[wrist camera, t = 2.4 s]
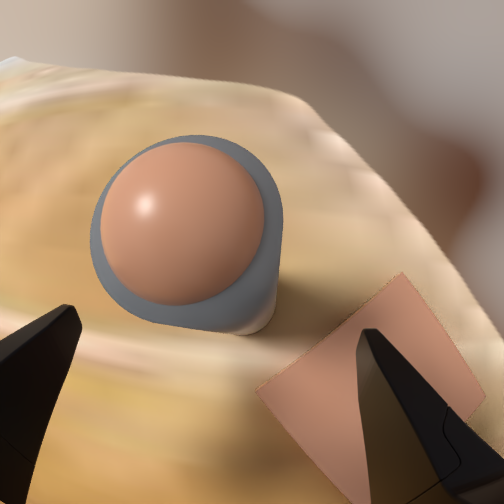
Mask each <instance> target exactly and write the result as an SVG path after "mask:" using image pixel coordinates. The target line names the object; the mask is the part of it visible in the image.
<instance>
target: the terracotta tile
mask: <svg viewBox="0 0 504 504" xmlns="http://www.w3.org/2000/svg"><path fill="white" fill-rule="evenodd" d="M364 328H377V329H378V330H379V331H380V332H381V333H382V334H383V335H384V336H385V337H386V338H387V339H388V340H389V341H390V342H391V343H392V344H393V345H394V347H395V348H396V349H397V350H398V351H399V352H400V353H401V354H402V355H403V356H404V357H405V358H406V359H407V360H408V361H409V362H410V363H411V365H412V366H413V367H414V368H415V369H416V370H417V371H418V372H419V373H420V374H421V375H422V376H423V377H424V378H425V380H426V381H427V382H428V383H429V384H430V385H431V386H432V387H433V388H434V389H435V390H436V391H437V393H438V394H439V395H440V396H441V397H442V398H443V399H444V400H445V401H446V402H447V404H448V406H450V407H451V408H452V409H453V410H454V411H455V412H456V413H457V415H458V416H459V417H460V418H461V419H462V420H463V421H464V422H465V421H466V420H467V419H468V418H469V416H470V415H471V414H472V413H473V412H474V411H475V410H476V408H477V407H478V406H479V405H480V404H481V402H482V401H483V400H484V399H485V397H486V396H485V394H484V392H483V390H482V389H481V387H480V385H479V383H478V382H477V380H476V378H475V377H474V375H473V373H472V372H471V370H470V369H469V367H468V365H467V364H466V362H465V361H464V359H463V357H462V356H461V354H460V353H459V351H458V350H457V348H456V346H455V345H454V343H453V342H452V340H451V339H450V337H449V336H448V334H447V333H446V331H445V330H444V329H443V327H442V326H441V324H440V323H439V321H438V320H437V318H436V317H435V316H434V314H433V313H432V311H431V310H430V308H429V307H428V306H427V304H426V303H425V302H424V300H423V299H422V297H421V296H420V295H419V293H418V292H417V291H416V289H415V288H414V287H413V285H412V284H411V283H410V281H409V280H408V279H407V277H406V276H405V275H404V274H403V272H401V273H400V274H398V275H396V276H395V277H394V278H393V279H392V280H391V281H390V282H389V283H388V284H387V285H385V286H384V287H383V288H382V289H381V290H380V291H379V292H378V293H377V294H376V295H374V296H373V297H372V298H371V299H370V300H369V301H368V302H367V303H365V304H364V305H363V306H362V307H361V308H360V309H359V310H357V311H356V312H355V313H354V314H353V315H352V316H350V317H349V318H348V319H347V320H346V321H344V322H343V323H342V324H341V325H340V326H338V327H337V328H336V329H335V330H334V331H332V332H331V333H330V334H329V335H327V336H326V337H325V338H324V339H322V340H321V341H320V342H319V343H317V344H316V345H315V346H314V347H312V348H311V349H310V350H308V351H307V352H306V353H304V354H303V355H302V356H301V357H299V358H298V359H297V360H295V361H294V362H293V363H291V364H290V365H289V366H287V367H286V368H284V369H283V370H282V371H280V372H279V373H278V374H276V375H275V376H273V377H272V378H271V379H269V380H268V381H266V382H265V383H264V384H262V385H261V386H259V387H258V388H256V390H255V392H256V394H257V395H258V396H259V397H260V399H261V400H262V401H263V402H264V404H265V405H266V406H267V407H268V409H269V410H270V411H271V412H272V414H273V415H274V416H275V417H276V419H277V420H278V421H279V422H280V423H281V425H282V426H283V427H284V428H285V429H286V431H287V432H288V433H289V434H290V435H291V437H292V438H293V439H294V440H295V441H296V442H297V444H298V445H299V446H300V447H301V448H302V449H303V451H304V452H305V453H306V454H307V455H308V456H309V457H310V459H311V460H312V461H313V462H314V463H315V464H316V465H317V466H318V467H319V469H320V470H321V471H322V472H323V473H324V474H325V475H326V476H327V477H328V478H329V480H330V481H331V482H332V483H333V484H334V485H335V486H336V487H337V488H338V489H339V490H340V491H341V492H342V493H343V494H344V495H345V496H346V498H347V499H348V500H349V501H350V502H351V503H352V504H371V498H370V487H369V478H368V469H367V460H366V452H365V444H364V437H363V430H362V423H361V416H360V410H359V403H358V387H357V368H356V348H357V344H358V341H359V338H360V334H361V331H362V330H363V329H364Z"/></svg>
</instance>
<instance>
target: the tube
mask: <svg viewBox="0 0 504 504" xmlns="http://www.w3.org/2000/svg"><path fill="white" fill-rule="evenodd" d="M282 231H283V208H282V203H281V198H280V194H279V191H278V188H277V186H276V183H275V182H274V180H273V178H272V176H271V174H270V173H269V171H268V170H267V169H266V167H265V166H264V165H263V164H262V162H261V161H260V160H259V159H258V158H257V157H256V156H254V155H253V154H252V153H250V152H249V151H248V150H246V149H245V148H243V147H241V146H239V145H238V144H236V143H233V142H231V141H228V140H226V139H222V138H218V137H213V136H205V135H188V136H180V137H175V138H171V139H167V140H164V141H161V142H158V143H156V144H154V145H152V146H150V147H148V148H146V149H144V150H143V151H141V152H139V153H138V154H136V155H135V156H134V157H132V158H131V159H130V160H128V161H127V162H126V163H125V164H124V165H123V166H122V167H121V168H120V169H119V170H118V171H117V172H116V173H115V175H114V176H113V177H112V178H111V180H110V181H109V182H108V184H107V185H106V187H105V189H104V190H103V192H102V194H101V196H100V198H99V200H98V203H97V205H96V208H95V211H94V215H93V218H92V224H91V230H90V249H91V256H92V261H93V265H94V268H95V271H96V273H97V276H98V278H99V280H100V282H101V284H102V285H103V287H104V288H105V290H106V291H107V292H108V294H109V295H110V296H111V297H112V298H113V299H114V300H115V301H116V302H117V303H118V304H119V305H120V306H121V307H123V308H124V309H125V310H127V311H128V312H130V313H131V314H133V315H135V316H137V317H139V318H141V319H144V320H147V321H150V322H153V323H159V324H165V325H171V326H177V327H183V328H190V329H197V330H203V331H211V332H218V333H226V334H234V335H249V334H253V333H255V332H258V331H259V330H261V329H262V328H264V327H265V326H266V325H267V324H268V322H269V321H270V320H271V318H272V316H273V314H274V311H275V306H276V297H277V286H278V276H279V265H280V254H281V243H282Z"/></svg>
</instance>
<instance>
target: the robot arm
mask: <svg viewBox="0 0 504 504" xmlns="http://www.w3.org/2000/svg"><path fill="white" fill-rule="evenodd" d="M81 332H82V323H81V321H80V318H79V316H78V313H77V311H76V309H75V307H74V306H72V305H67V304H63V305H61V306H59V307H57V308H55V309H54V310H52V311H50V312H48V313H47V314H45V315H43V316H41V317H40V318H38V319H36V320H34V321H33V322H31V323H29V324H27V325H26V326H24V327H22V328H21V329H19V330H17V331H16V332H14V333H12V334H10V335H9V336H7V337H5V338H4V339H2V340H0V501H2V502H3V503H5V504H26V499H27V495H28V491H29V487H30V483H31V479H32V475H33V472H34V468H35V464H36V461H37V457H38V454H39V451H40V447H41V444H42V441H43V438H44V435H45V432H46V429H47V426H48V423H49V420H50V418H51V415H52V412H53V409H54V407H55V404H56V401H57V399H58V396H59V393H60V391H61V388H62V386H63V383H64V381H65V378H66V376H67V373H68V371H69V368H70V365H71V362H72V359H73V356H74V353H75V350H76V347H77V344H78V341H79V338H80V335H81ZM356 368H357V387H358V403H359V410H360V416H361V423H362V430H363V437H364V444H365V452H366V460H367V469H368V478H369V487H370V498H371V504H504V459H503V458H502V457H501V456H500V455H499V454H498V453H497V452H496V451H495V450H493V449H492V448H491V447H490V446H489V445H488V444H487V443H486V442H485V441H484V440H483V439H481V438H480V437H479V436H478V435H477V434H476V433H475V432H474V431H473V430H472V429H471V428H470V427H469V426H468V425H467V424H466V423H465V422H464V421H463V420H462V419H461V418H460V417H459V416H458V415H457V413H456V412H455V411H454V410H453V409H452V408H451V407H450V406H448V404H447V402H446V401H445V400H444V399H443V398H442V397H441V396H440V395H439V394H438V393H437V391H436V390H435V389H434V388H433V387H432V386H431V385H430V384H429V383H428V382H427V381H426V380H425V378H424V377H423V376H422V375H421V374H420V373H419V372H418V371H417V370H416V369H415V368H414V367H413V366H412V365H411V363H410V362H409V361H408V360H407V359H406V358H405V357H404V356H403V355H402V354H401V353H400V352H399V351H398V350H397V349H396V348H395V347H394V345H393V344H392V343H391V342H390V341H389V340H388V339H387V338H386V337H385V336H384V335H383V334H382V333H381V332H380V331H379V330H378V329H377V328H364V329H363V330H362V331H361V334H360V338H359V341H358V344H357V348H356Z"/></svg>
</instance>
